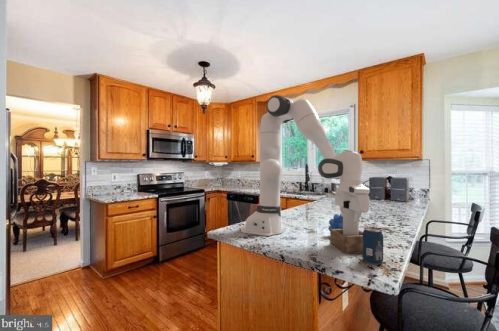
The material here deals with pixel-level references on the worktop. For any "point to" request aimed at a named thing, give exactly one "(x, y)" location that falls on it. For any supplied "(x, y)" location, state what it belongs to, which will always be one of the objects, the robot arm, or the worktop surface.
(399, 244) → the worktop surface
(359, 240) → the wooden cubby frame
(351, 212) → the travel mug
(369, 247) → the soda can
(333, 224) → the grapes
